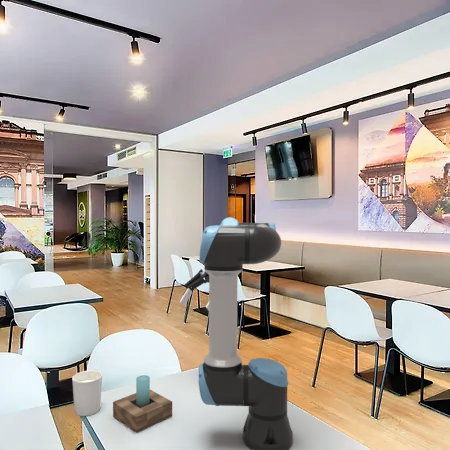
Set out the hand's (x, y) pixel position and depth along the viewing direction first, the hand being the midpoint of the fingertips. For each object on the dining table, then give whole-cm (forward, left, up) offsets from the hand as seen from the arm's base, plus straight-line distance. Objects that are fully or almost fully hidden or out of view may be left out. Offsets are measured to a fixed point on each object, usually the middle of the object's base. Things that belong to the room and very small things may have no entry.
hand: (194, 306), depth 148 cm
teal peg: (-2, +25, -32) cm, 40 cm away
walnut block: (-2, +25, -33) cm, 41 cm away
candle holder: (+15, +36, -33) cm, 51 cm away
